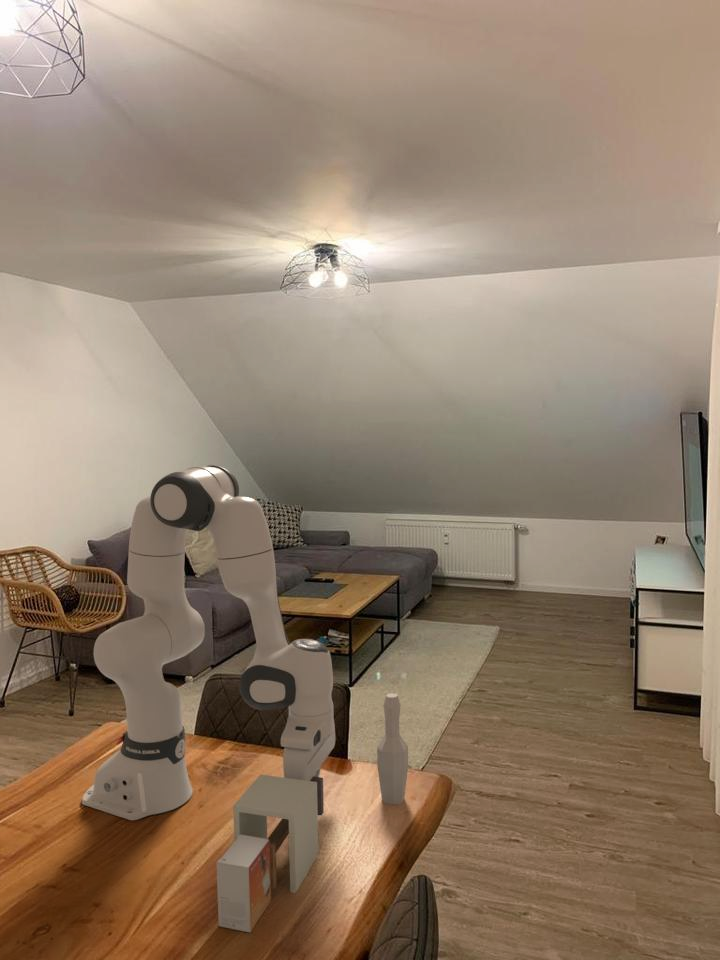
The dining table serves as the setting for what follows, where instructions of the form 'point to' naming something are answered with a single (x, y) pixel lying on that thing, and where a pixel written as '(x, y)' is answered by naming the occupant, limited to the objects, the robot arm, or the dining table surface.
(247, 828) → the tunnel
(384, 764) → the low poly bottle
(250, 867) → the small box
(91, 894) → the dining table surface
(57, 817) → the dining table surface
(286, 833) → the push rod
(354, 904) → the dining table surface
